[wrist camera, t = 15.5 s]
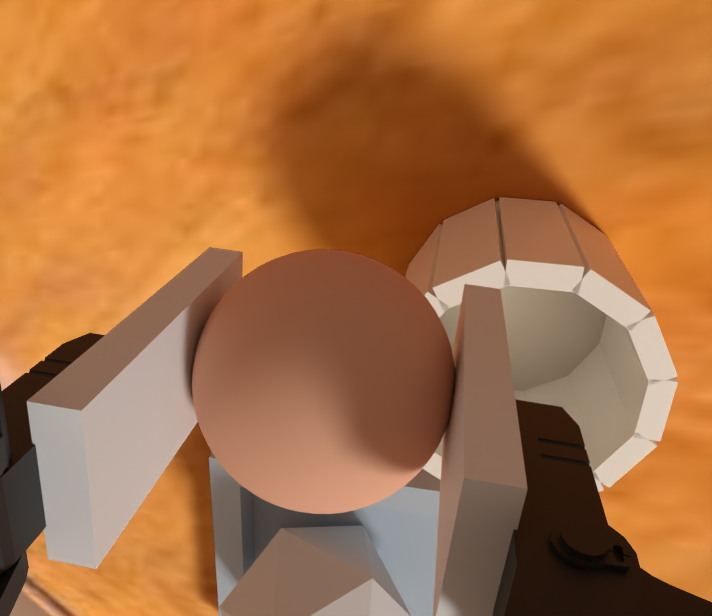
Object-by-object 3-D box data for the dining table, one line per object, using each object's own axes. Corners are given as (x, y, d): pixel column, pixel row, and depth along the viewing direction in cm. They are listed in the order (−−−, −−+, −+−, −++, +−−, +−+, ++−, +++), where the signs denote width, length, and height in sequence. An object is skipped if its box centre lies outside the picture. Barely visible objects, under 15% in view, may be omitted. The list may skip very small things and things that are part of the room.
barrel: (414, 189, 28) (393, 248, 21) (646, 209, 27) (708, 278, 20) (398, 380, 32) (376, 484, 25) (599, 405, 31) (636, 522, 24)
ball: (242, 205, 14) (137, 286, 9) (473, 235, 13) (480, 336, 9) (238, 402, 16) (150, 547, 11) (438, 434, 15) (430, 600, 11)
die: (315, 518, 41) (223, 678, 36) (280, 461, 34) (160, 651, 29) (437, 583, 37) (354, 769, 33) (427, 534, 30) (319, 763, 25)
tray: (229, 423, 35) (208, 457, 33) (525, 465, 33) (529, 504, 30) (238, 626, 42) (222, 668, 39) (485, 672, 40) (486, 719, 37)
